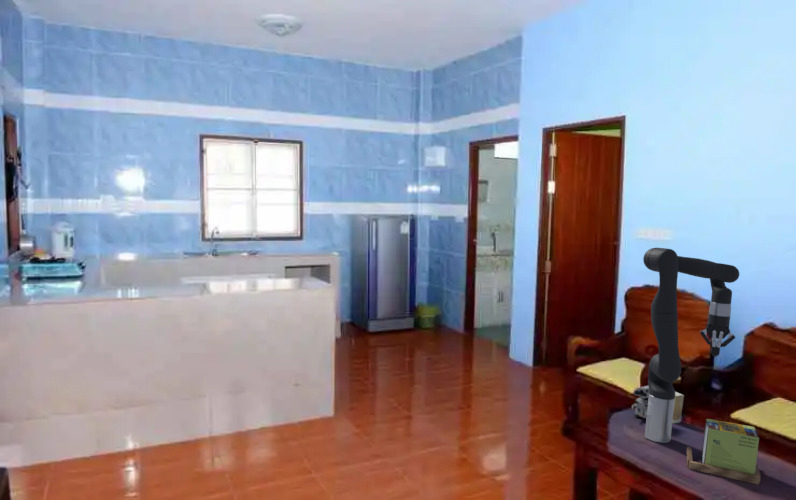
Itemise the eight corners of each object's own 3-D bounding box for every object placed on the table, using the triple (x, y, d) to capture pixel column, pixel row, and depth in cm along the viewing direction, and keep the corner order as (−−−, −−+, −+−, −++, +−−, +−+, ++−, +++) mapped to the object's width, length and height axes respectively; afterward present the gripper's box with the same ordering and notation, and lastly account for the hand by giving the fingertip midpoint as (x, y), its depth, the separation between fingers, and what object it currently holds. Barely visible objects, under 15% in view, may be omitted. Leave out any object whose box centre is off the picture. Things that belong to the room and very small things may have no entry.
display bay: (687, 468, 202) (688, 461, 201) (686, 453, 214) (687, 446, 214) (760, 485, 192) (761, 477, 192) (755, 467, 205) (755, 461, 205)
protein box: (754, 481, 195) (760, 437, 193) (703, 470, 201) (708, 428, 199) (749, 468, 204) (754, 426, 203) (700, 458, 210) (705, 417, 209)
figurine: (624, 418, 245) (627, 384, 244) (643, 415, 250) (647, 382, 249) (641, 427, 237) (645, 391, 235) (661, 423, 242) (664, 389, 240)
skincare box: (661, 418, 248) (664, 390, 247) (668, 417, 250) (671, 389, 249) (674, 423, 242) (677, 395, 241) (681, 422, 244) (684, 394, 243)
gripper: (701, 312, 230) (696, 355, 231) (739, 317, 224) (734, 360, 226) (700, 309, 236) (696, 351, 238) (737, 314, 231) (732, 356, 233)
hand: (714, 355), depth 232 cm, fingers closed
